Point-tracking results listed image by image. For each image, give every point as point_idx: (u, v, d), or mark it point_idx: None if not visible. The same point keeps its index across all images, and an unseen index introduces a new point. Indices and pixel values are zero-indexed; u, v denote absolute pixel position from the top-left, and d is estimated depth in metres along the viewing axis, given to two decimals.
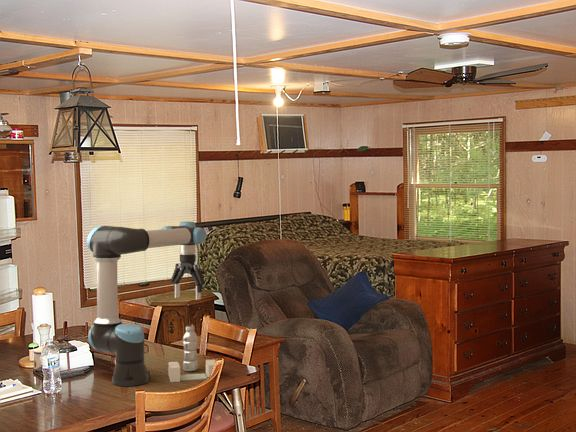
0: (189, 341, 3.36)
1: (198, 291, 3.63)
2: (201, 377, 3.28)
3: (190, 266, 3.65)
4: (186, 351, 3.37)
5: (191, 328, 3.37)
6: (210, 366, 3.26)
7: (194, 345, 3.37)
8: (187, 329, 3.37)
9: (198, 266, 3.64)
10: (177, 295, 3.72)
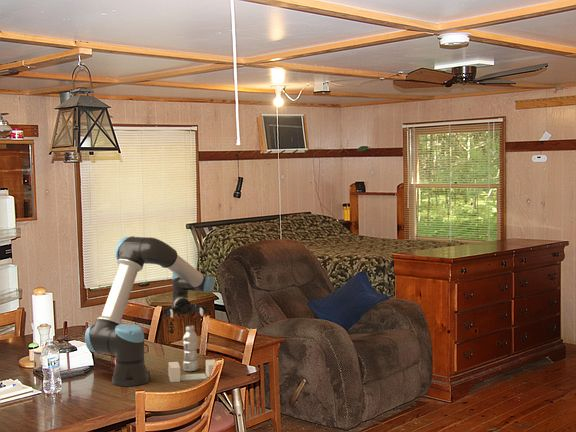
0: (189, 341, 3.36)
1: (203, 309, 3.54)
2: (201, 377, 3.28)
3: (189, 305, 3.64)
4: (186, 351, 3.37)
5: (191, 328, 3.37)
6: (210, 366, 3.26)
7: (194, 345, 3.37)
8: (187, 329, 3.37)
9: None
10: (172, 313, 3.48)
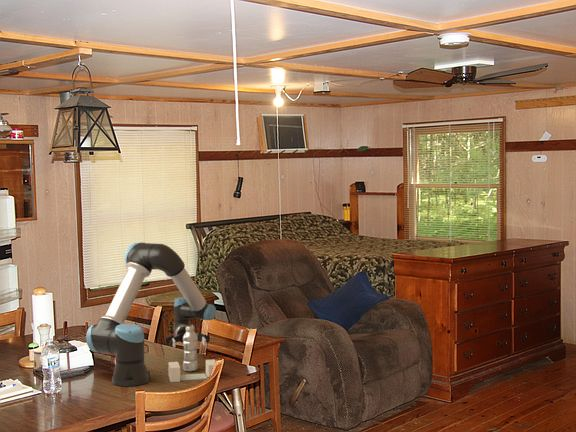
0: (189, 341, 3.36)
1: (205, 339, 3.51)
2: (201, 377, 3.28)
3: None
4: (186, 351, 3.37)
5: (191, 328, 3.37)
6: (210, 366, 3.26)
7: (194, 345, 3.37)
8: (187, 329, 3.37)
9: None
10: None
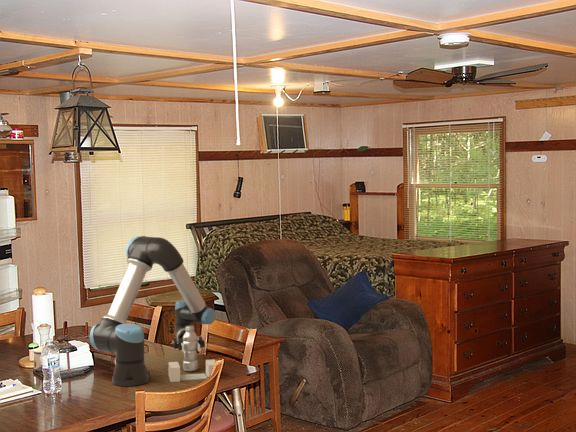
0: (189, 341, 3.36)
1: (200, 344, 3.39)
2: (201, 377, 3.28)
3: None
4: (186, 351, 3.37)
5: (191, 328, 3.37)
6: (210, 366, 3.26)
7: (194, 345, 3.37)
8: (187, 329, 3.37)
9: None
10: None
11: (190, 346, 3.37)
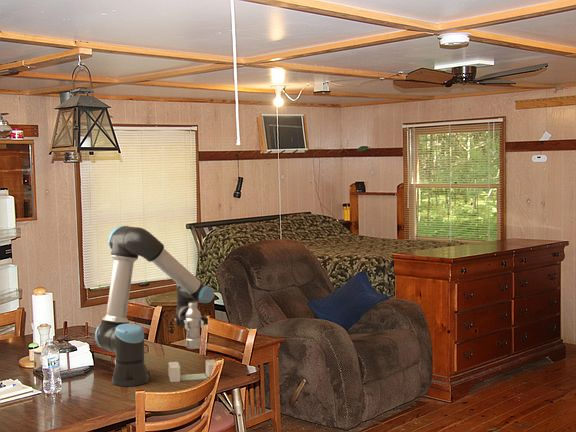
0: (192, 318, 3.27)
1: (203, 321, 3.30)
2: (201, 377, 3.28)
3: None
4: (189, 328, 3.28)
5: (194, 304, 3.28)
6: (210, 366, 3.26)
7: (197, 322, 3.28)
8: (190, 305, 3.28)
9: None
10: None
11: (193, 323, 3.27)
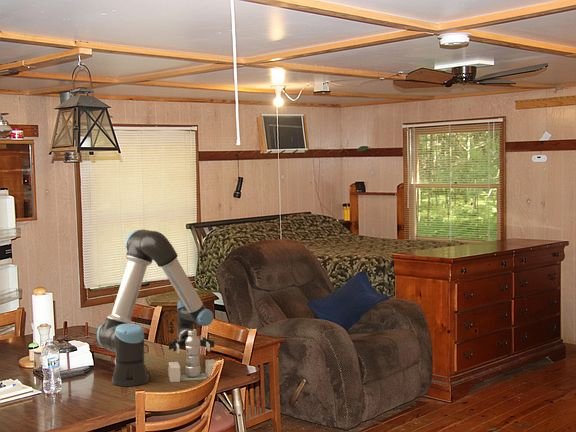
0: (191, 346, 3.25)
1: (209, 344, 3.31)
2: (201, 377, 3.28)
3: None
4: (188, 356, 3.26)
5: (194, 332, 3.26)
6: (210, 366, 3.26)
7: (197, 350, 3.27)
8: (189, 333, 3.26)
9: None
10: None
11: (193, 351, 3.26)
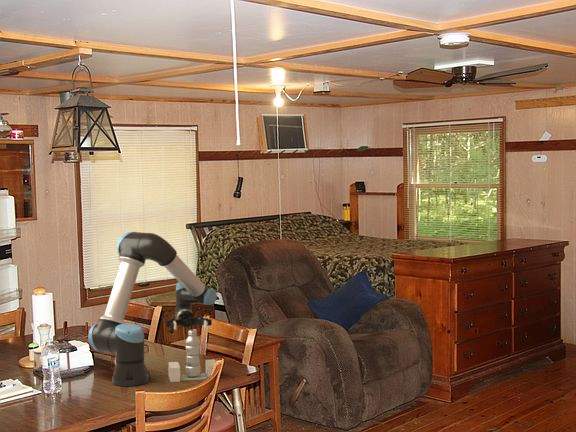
0: (191, 346, 3.25)
1: (207, 322, 3.44)
2: (201, 377, 3.28)
3: None
4: (188, 356, 3.27)
5: (194, 332, 3.27)
6: (210, 366, 3.26)
7: (197, 350, 3.27)
8: (189, 333, 3.27)
9: None
10: (176, 325, 3.38)
11: (193, 351, 3.26)
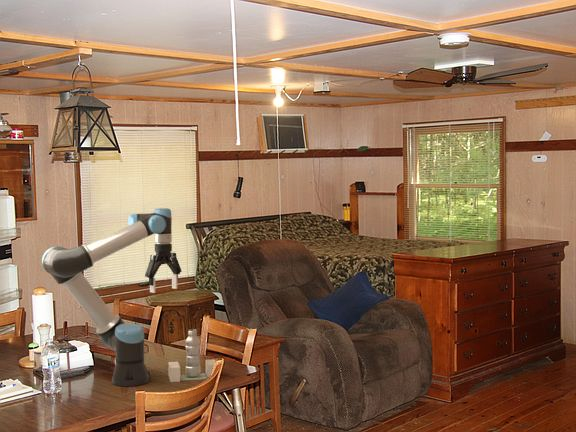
0: (191, 346, 3.25)
1: None
2: (201, 377, 3.28)
3: None
4: (188, 356, 3.27)
5: (194, 332, 3.27)
6: (210, 366, 3.26)
7: (197, 350, 3.27)
8: (189, 333, 3.27)
9: (152, 257, 3.38)
10: (173, 286, 3.50)
11: (193, 351, 3.26)
